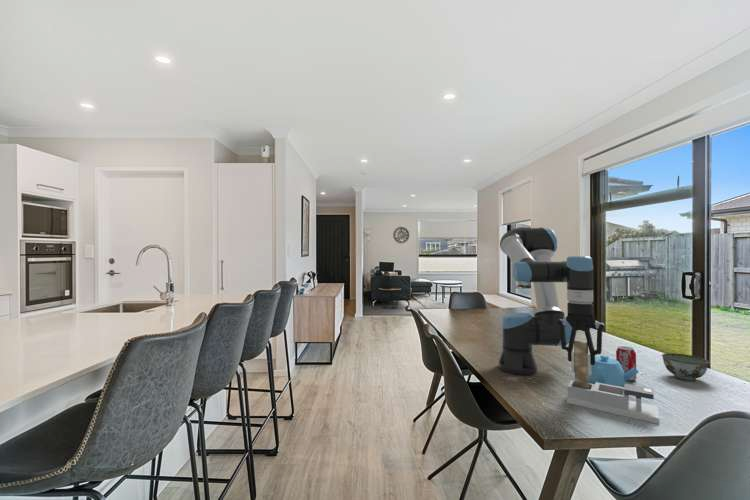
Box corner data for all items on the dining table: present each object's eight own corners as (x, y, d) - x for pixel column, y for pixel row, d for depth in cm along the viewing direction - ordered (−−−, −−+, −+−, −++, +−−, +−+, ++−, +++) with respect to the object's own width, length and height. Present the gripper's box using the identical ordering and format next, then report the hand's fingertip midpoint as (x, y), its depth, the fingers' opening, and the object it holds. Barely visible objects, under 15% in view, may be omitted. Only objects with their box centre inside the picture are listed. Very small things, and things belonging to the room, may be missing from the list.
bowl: (660, 378, 133) (660, 358, 133) (663, 370, 143) (662, 351, 143) (710, 387, 124) (709, 365, 124) (708, 378, 133) (708, 357, 133)
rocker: (624, 393, 104) (623, 388, 104) (624, 387, 109) (624, 382, 109) (653, 399, 100) (653, 394, 100) (653, 393, 105) (652, 387, 105)
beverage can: (640, 382, 129) (639, 350, 130) (621, 381, 131) (620, 349, 131) (631, 376, 136) (630, 346, 136) (613, 375, 137) (612, 345, 137)
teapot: (595, 394, 118) (595, 361, 119) (573, 380, 132) (573, 350, 132) (640, 395, 118) (639, 362, 118) (613, 380, 132) (613, 350, 132)
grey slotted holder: (567, 402, 112) (566, 386, 112) (572, 393, 120) (571, 377, 120) (659, 423, 98) (658, 404, 98) (657, 411, 106) (657, 393, 106)
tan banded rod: (573, 390, 113) (572, 342, 114) (575, 386, 117) (574, 339, 117) (588, 393, 111) (587, 343, 111) (589, 389, 114) (588, 341, 114)
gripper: (549, 301, 117) (551, 370, 116) (610, 305, 106) (611, 381, 106) (554, 299, 123) (555, 365, 122) (611, 303, 112) (613, 374, 112)
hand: (581, 372), depth 114 cm, fingers closed on tan banded rod, 4 cm apart
